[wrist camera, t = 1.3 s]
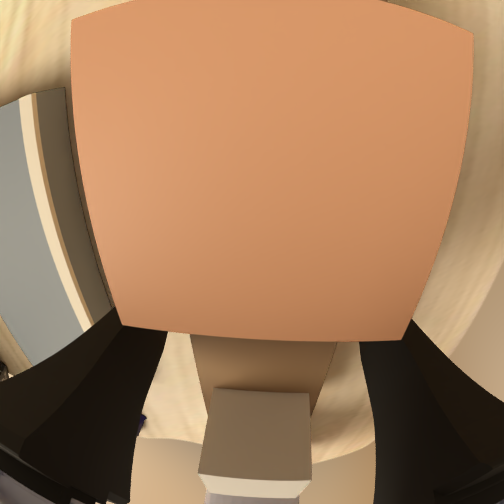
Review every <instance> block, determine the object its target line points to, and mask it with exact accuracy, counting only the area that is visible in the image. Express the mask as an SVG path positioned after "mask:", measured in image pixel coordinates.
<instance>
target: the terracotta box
mask: <svg viewBox="0 0 504 504" xmlns="http://www.w3.org/2000/svg"><path fill="white" fill-rule="evenodd" d="M472 81H473V33H471V32H469V31H467V30H465V29H462V28H460V27H458V26H455V25H453V24H451V23H448V22H446V21H443V20H441V19H438V18H435V17H433V16H430V15H427V14H424V13H421V12H418V11H415V10H412V9H409V8H406V7H403V6H399V5H396V4H392V3H388V2H384V1H380V0H134V1H130V2H126V3H122V4H118V5H115V6H111V7H108V8H105V9H102V10H98V11H95V12H92V13H89V14H87V15H84V16H81V17H78V18H76V19H73V20H72V22H71V86H72V103H73V115H74V125H75V134H76V142H77V149H78V156H79V163H80V169H81V175H82V181H83V186H84V191H85V196H86V201H87V206H88V211H89V215H90V219H91V224H92V228H93V232H94V236H95V240H96V244H97V247H98V251H99V255H100V258H101V262H102V265H103V269H104V272H105V275H106V279H107V282H108V285H109V288H110V291H111V294H112V297H113V300H114V303H115V306H116V309H117V312H118V315H119V317H120V320H121V323H122V325H126V326H133V327H139V328H146V329H154V330H162V331H170V332H178V333H187V334H197V335H207V336H218V337H231V338H245V339H261V340H282V341H322V342H352V341H390V340H401V339H402V337H403V335H404V333H405V331H406V329H407V326H408V324H409V322H410V320H411V318H412V316H413V313H414V311H415V309H416V307H417V304H418V302H419V300H420V297H421V295H422V292H423V290H424V287H425V285H426V282H427V280H428V277H429V275H430V272H431V269H432V267H433V264H434V261H435V258H436V255H437V253H438V250H439V247H440V244H441V241H442V237H443V234H444V231H445V228H446V224H447V221H448V218H449V214H450V211H451V207H452V203H453V199H454V195H455V191H456V187H457V183H458V179H459V174H460V169H461V164H462V159H463V154H464V149H465V143H466V136H467V130H468V123H469V115H470V106H471V95H472Z"/></svg>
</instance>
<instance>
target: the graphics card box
mask: <svg viewBox="0 0 504 504" xmlns="http://www.w3.org/2000/svg"><path fill="white" fill-rule="evenodd" d="M6 379H9V376H8V371H7V367H6V366H5V365H4V364H3V363H1V362H0V382H1V381H4V380H6Z"/></svg>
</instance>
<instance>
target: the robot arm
mask: <svg viewBox="0 0 504 504" xmlns="http://www.w3.org/2000/svg"><path fill="white" fill-rule="evenodd" d="M167 333H168V331H162V330H154V329H146V328H139V327H133V326H126V325H122V323H121V320H120V317H119V315H118V312H117V309H116V306H115V307H114V308H113V309H111V310H110V311H109V312H108V313H107V314H106V315H105V316H104V317H102V318H101V319H100V320H99V321H98V322H96V323H95V324H94V325H93V326H91V327H90V328H89V329H88V330H87V331H85V332H84V333H83V334H82V335H80V336H79V337H78V338H76V339H75V340H74V341H72V342H71V343H70V344H68V345H67V346H65V347H64V348H62V349H61V350H60V351H58V352H57V353H55V354H53V355H52V356H50V357H48V358H47V359H45V360H43V361H42V362H40V363H38V364H37V365H35V366H33V367H31V368H30V369H28V370H26V371H24V372H22V373H20V374H17V375H15V376H13V377H11V378H9V379H6V380H4V381H1V382H0V504H95V502H97V503H100V504H106V502H107V501H109V502H112V503H114V504H127V503H129V502H130V487H131V473H132V464H133V456H134V449H135V443H136V437H137V432H138V427H139V422H140V417H141V413H142V409H143V406H144V402H145V399H146V396H147V393H148V391H149V388H150V385H151V382H152V380H153V377H154V374H155V372H156V369H157V366H158V364H159V361H160V358H161V355H162V353H163V350H164V346H165V342H166V338H167ZM359 345H360V354H361V361H362V366H363V370H364V375H365V379H366V384H367V388H368V393H369V397H370V402H371V407H372V412H373V418H374V427H375V443H376V478H375V493H374V502H373V504H504V402H502V401H501V400H499V399H498V398H496V397H495V396H493V395H492V394H490V393H489V392H488V391H486V390H485V389H484V388H482V387H481V386H480V385H478V384H477V383H476V382H475V381H473V380H472V379H471V378H470V377H469V376H467V375H466V374H465V373H464V372H463V371H462V370H461V369H460V368H458V367H457V366H456V365H455V364H454V363H453V362H452V361H451V360H450V359H449V358H448V357H447V356H446V355H445V354H444V353H443V352H442V351H441V350H440V349H439V348H438V347H437V346H436V345H435V344H434V343H433V342H432V341H431V340H430V339H429V338H428V336H427V335H426V334H425V333H424V332H423V331H422V330H421V329H420V328H419V326H418V325H417V324H416V323H415V322H414V321H413V320H412V319H411V320H410V322H409V324H408V326H407V329H406V331H405V333H404V335H403V337H402V339H401V340H390V341H359ZM204 504H299V495H298V496H297V497H296V498H259V497H243V496H232V495H223V494H215V493H209V491H208V490H206V496H205V503H204Z"/></svg>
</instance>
